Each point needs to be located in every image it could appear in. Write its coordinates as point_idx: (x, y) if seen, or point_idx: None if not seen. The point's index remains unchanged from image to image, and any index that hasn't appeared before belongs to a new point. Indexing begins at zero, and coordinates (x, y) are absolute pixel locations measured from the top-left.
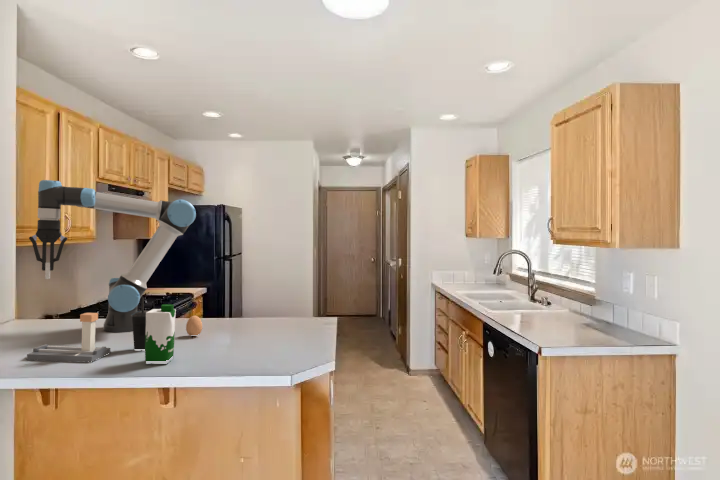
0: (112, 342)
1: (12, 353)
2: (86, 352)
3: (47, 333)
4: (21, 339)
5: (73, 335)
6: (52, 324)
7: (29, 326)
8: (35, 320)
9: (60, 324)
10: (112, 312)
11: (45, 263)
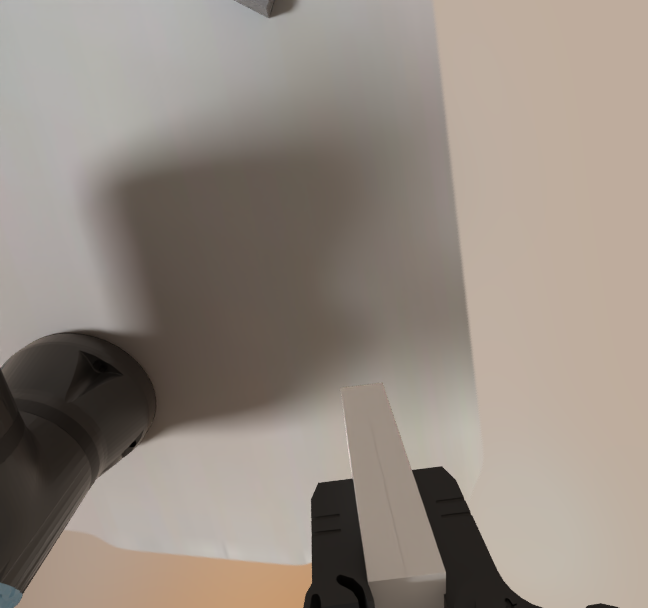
0: (39, 137)
1: (412, 12)
2: None
3: (343, 364)
4: (415, 281)
5: (243, 313)
6: None
7: None
8: None
9: None
10: (66, 408)
11: (440, 556)
